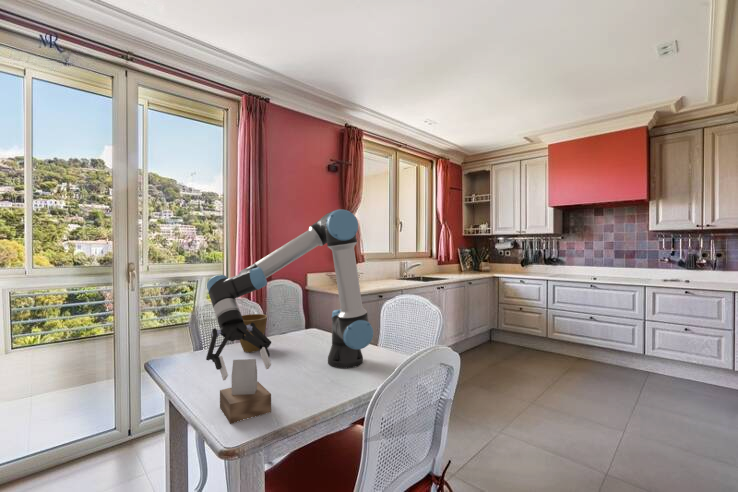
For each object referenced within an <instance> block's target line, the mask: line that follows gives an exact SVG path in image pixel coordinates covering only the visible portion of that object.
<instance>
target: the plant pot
mask: <svg viewBox="0 0 738 492" xmlns="http://www.w3.org/2000/svg"><path fill="white" fill-rule="evenodd" d="M241 315H242V314H241ZM242 318H243V321H244V324H245V325H250V324H251V323H252V322H253V323H254V324H255V326H256V328H257V329H258V330H260V331H261V332H262V333H263V334H264V335H265V332H266V326H267V322H268V321H267V320H268V315H266V314H263V313H254V314H252V313H251V314H243V315H242ZM247 331H248V332H249V330H247ZM250 334H251V335H253V334H252V333H251V332H250ZM244 336H246V335H245V334H244ZM253 336H254V335H253ZM239 344H240V345H241V348H242V351H243V352H244V353H256V352H258V351H260V349H259V348H258V347H256V346H254V345H253V344H251V343H249V342H248V341H244V340H243V339H241V340H239Z"/></svg>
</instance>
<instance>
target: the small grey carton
mask: <svg viewBox="0 0 738 492" xmlns="http://www.w3.org/2000/svg"><path fill="white" fill-rule="evenodd" d="M257 382H258V365H257V359H256V358H250V359H248V358H247V359H246V358H245V359H233V360H232V367H231V388H232V395H245V394H255V392H256V390H257Z"/></svg>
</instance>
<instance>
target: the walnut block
mask: <svg viewBox="0 0 738 492" xmlns="http://www.w3.org/2000/svg"><path fill="white" fill-rule="evenodd" d="M219 409H220V411H221V410H222V411H221V413H224V414H223V416H226V417H225V418H226V420H227V421H228V423H229V424H230V425H231V423H232V424H235V423H238V422H237V421H239V422H241V421H240V420H242V421H244V420H243V419H246V420H248V419H247V418H249V419H252V418H251V417H253V418H256V417H259V415H260V416H262V415H266V413H267V414H270V413H272V393H271V392H270V391H269V390H268V389H266V387H265V386H263V385H262V383H261V382H259V381H257V390H256V392H255V394H245V395H232V387H228V388H224V389H220V390H219ZM255 416H256V417H255ZM234 422H235V423H234Z"/></svg>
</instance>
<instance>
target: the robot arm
mask: <svg viewBox="0 0 738 492" xmlns="http://www.w3.org/2000/svg"><path fill="white" fill-rule="evenodd" d="M357 219H358V218H357V217H356V216H355V214H353V212H351V211H349V210H347V209H334V210H332V211H330V212H328V213H326V214H324V215H323V216H322V217H321V218H320V219H318V220H317V221H315V222H314V223H313V224H311V225H310V226H309V227H308V230H306V231H305V232H303V233H301V234H299V235H298V236H296V237H294V238H293V239H291V240H290V241H289V242H287V243H285V244H283V245H282V246H281V247H280V246H279V248H276V249H275V250H274V251H272V252H271V253H269V254H268V255H267V254H266V256H264V257H263V258H261V259H259V260H258V261H256V262H254V263H252V264H251V265H250V266H248V267H246V268H243V269H242V270H240V272H239V273H238V274H237V275H234V276H232V277H228V276H227V275H225V274H219V275H218V274H216V275H214V276H212V277H210V279H208V281H207V283H206V287H207V293H208V296H209V299H210V301H211V304H212V307H213V312H214V314H215V317H216V319H217V324H218V327H219V329H217V328H215V327H214V328H213V329H212V330H211V333H210V338H211V340H210V343H209V345H208V346H209V347H208V350H207V354H206V357H205V360H206V361H211V360H212V363H214V366H215V369H216V371H217V370H219V371H220V374H221V378H222V381H226V380H227V378H228V376H229V374H228V370H227V367H226V364H225V361H224V357H223V355H221V353H222V352H223V350H224V349H225V346H226V345H227V343H228V341H229V342H235V341H240V340H241V339H243V340H244V341H248V342H249V343H251V344H253V345H254V346H256V347H258V348H259V354H260V356H261V359H262V362H263V364H264V368H265V370H269V369H270V367H271V366H272V363H271V360H270V356H271V355H270V354H271V353H270V351H269V348H270V346H271V344H272V341H271V340H270V339H269V338H268V337H267V336H266V335H265V333H264V334H263V333H262V332H261V331H260V330H258V329H257V328H256V326H255V324H254V323H253V322H252V323H251V324H250V325H245V324H244V321H243V318H242V312H241V311H240V307H239V305H238V301H237V300H236V299H237V298H241V297H243V296H245V295H247V294H250V293H252V292H255V291H258V290H261V289H262V288H264V287H266V286H267V285H268V280H267V279H268V278H270V276H272V275H274V274H275V273H277V272H278V271H280V270H282V269H283V268H285V267H286V266H288V265H289V264H291V263H293V262H294V261H296V260H298V259H299V258H301V257H302V256H305V255H306V254H308V253H309V252H310V251H312V250H314V249H315V248H317V247H318V246H319V247H322V246H324V245H326V244H327V248H328V249H330V250H331V252H332V253H331V254H332V260H333V266H334V273H335V279H336V280H335V281H336V285H337V286H336V287H337V292H338V299H339V305H340V308H339V309H334V310H332V312H331V346H330V350H329V353H328V356H327V364H328V365H329V366H330V367H332V368H338V369H352V368H356V367H359V366H361V365H363V364H364V356H363V353H362V350H363V349H365V348H366V347H368V345H370V344H371V342H372V340H373V337H374V328H373V326H372V325H371V323H370V322H369V315H368V311H367V309H365V308H364V307H363V301H362V294H361V288H360V280H359V272H358V266H357V260H356V253H355V247H356V245H357V244H358V239H357V233H358V231H359V223H358V220H357ZM247 330H249V332H248V331H247ZM250 332H251V333H252V334H253V335H254V336H253V335H251V334H250ZM244 334H245V335H246V336H244ZM220 335H221V336H222V337H223V339H222V341H221V343H220V345H219V346H218V348H217V350H216V352H215V353H214V351H215V347H216V342H217V338H218V337H219V336H220Z"/></svg>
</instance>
